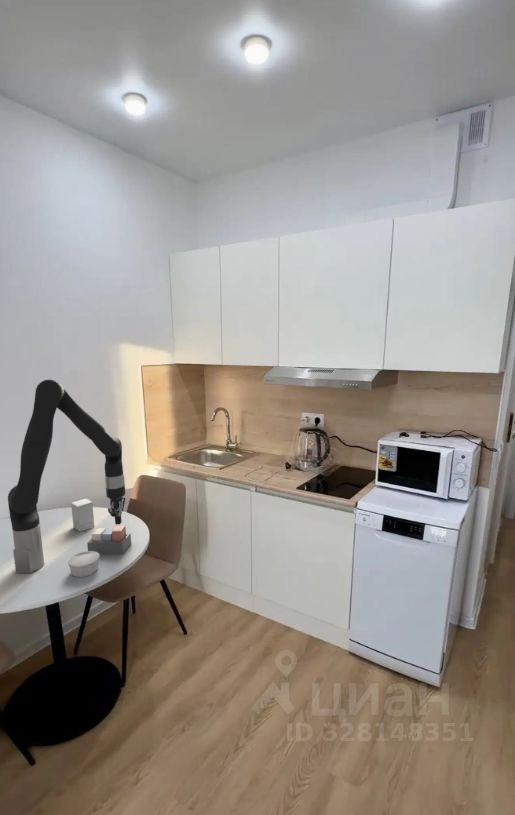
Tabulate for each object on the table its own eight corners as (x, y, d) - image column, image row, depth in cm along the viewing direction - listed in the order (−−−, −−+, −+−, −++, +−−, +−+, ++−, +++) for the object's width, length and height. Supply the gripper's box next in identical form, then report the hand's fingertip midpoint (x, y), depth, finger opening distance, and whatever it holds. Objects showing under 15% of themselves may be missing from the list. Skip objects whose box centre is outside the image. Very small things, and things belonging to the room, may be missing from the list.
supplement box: (95, 526, 187) (92, 501, 185) (79, 532, 182) (77, 506, 180) (88, 522, 192) (86, 497, 190) (72, 527, 187) (70, 502, 185)
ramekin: (95, 559, 159) (94, 547, 158) (104, 571, 150) (103, 559, 149) (66, 569, 152) (64, 557, 151) (73, 583, 143) (72, 569, 142)
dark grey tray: (123, 554, 162) (122, 543, 161) (88, 553, 163) (87, 542, 162) (131, 543, 171) (130, 532, 170) (98, 542, 172) (97, 532, 171)
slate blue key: (111, 545, 164) (110, 534, 163) (102, 545, 164) (101, 534, 163) (116, 539, 169) (115, 528, 168) (108, 539, 169) (107, 528, 168)
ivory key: (101, 545, 164) (100, 534, 163) (92, 545, 164) (91, 534, 164) (106, 539, 169) (105, 528, 168) (98, 539, 169) (97, 528, 168)
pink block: (121, 542, 163) (120, 531, 162) (112, 542, 164) (111, 531, 163) (126, 536, 168) (125, 525, 167) (117, 536, 168) (116, 525, 168)
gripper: (117, 490, 155) (121, 531, 158) (129, 479, 169) (132, 516, 171) (99, 490, 156) (103, 531, 159) (113, 479, 169) (116, 516, 172)
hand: (118, 523), depth 165 cm, fingers closed
